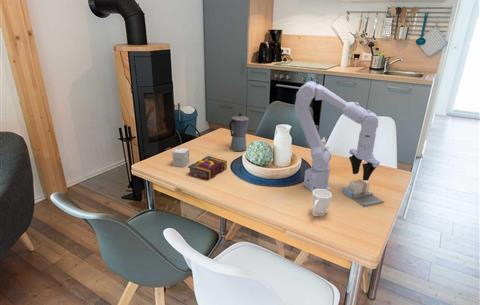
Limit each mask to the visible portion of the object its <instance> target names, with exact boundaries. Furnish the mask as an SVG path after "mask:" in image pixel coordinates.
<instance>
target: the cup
mask: <svg viewBox="0 0 480 305" xmlns="http://www.w3.org/2000/svg"><path fill="white" fill-rule="evenodd" d="M332 197H333V196H332V192H331V191H329V190H325V189H316V190H313V192H312V206H313V207H312V215H313V216H314V217H323V216H325V215H326V213H327V211H328V209H329V206H330V202H331V199H332Z"/></svg>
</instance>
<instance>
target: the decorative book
mask: <svg viewBox="0 0 480 305" xmlns="http://www.w3.org/2000/svg"><path fill="white" fill-rule="evenodd" d="M227 162H228V161H227V160H224V159H220V158H216V157H213V156H211V155H207V156H205V157H203V158H202V159H198V160H197V161H196V162H194V163H192V164H190V165H188V166H187V168H189V172H188V173H187V175H188V176H189V177H195V178H196V177H197V178H200V179H203V180H207V181H209V180H210V179H214V178H215V177H216V176H217V175H219V174H220V173H221V174H222V173H224V172H225V170H227V169H228V163H227Z"/></svg>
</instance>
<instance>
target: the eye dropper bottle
mask: <svg viewBox="0 0 480 305" xmlns="http://www.w3.org/2000/svg"><path fill="white" fill-rule="evenodd" d="M321 141H322V144H324V145H325V147H326V149H327V150H328V151H329V145H328V144H327V140H326V138H325V137H324V136H323V137H322V139H321Z"/></svg>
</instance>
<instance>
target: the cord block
mask: <svg viewBox="0 0 480 305" xmlns="http://www.w3.org/2000/svg"><path fill="white" fill-rule="evenodd" d="M370 184H371V182H369V181H368V180H366V181H364V180H363V178H362V179H357V180H349V182H348V188H349V190H350V191H352V192H353V195H352V196H355V195H360V193H363V194H365V193H368V192H369V190H370V189H369V188H370Z"/></svg>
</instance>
